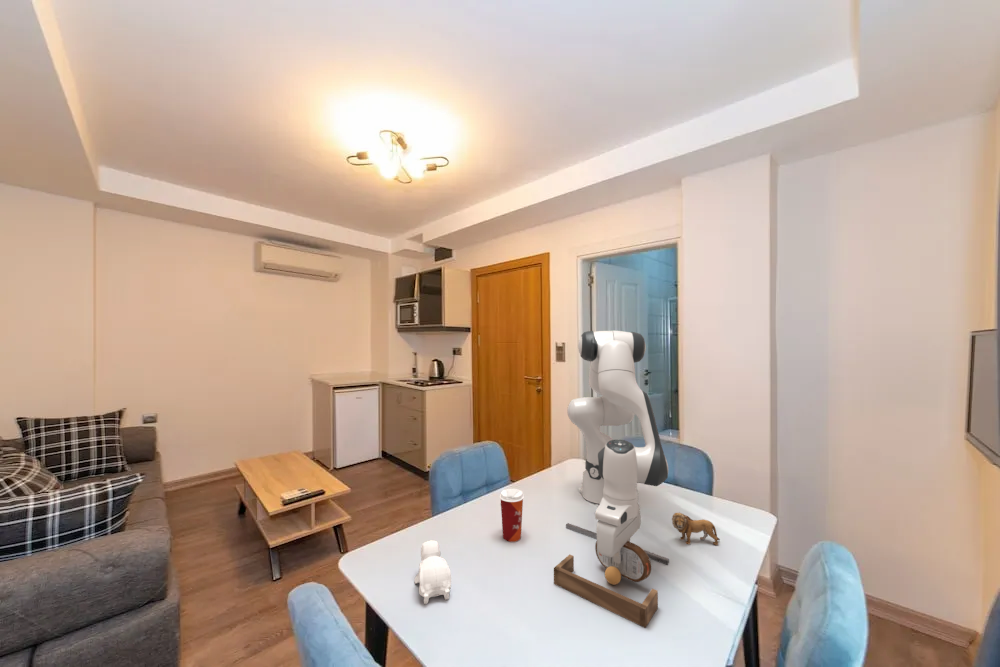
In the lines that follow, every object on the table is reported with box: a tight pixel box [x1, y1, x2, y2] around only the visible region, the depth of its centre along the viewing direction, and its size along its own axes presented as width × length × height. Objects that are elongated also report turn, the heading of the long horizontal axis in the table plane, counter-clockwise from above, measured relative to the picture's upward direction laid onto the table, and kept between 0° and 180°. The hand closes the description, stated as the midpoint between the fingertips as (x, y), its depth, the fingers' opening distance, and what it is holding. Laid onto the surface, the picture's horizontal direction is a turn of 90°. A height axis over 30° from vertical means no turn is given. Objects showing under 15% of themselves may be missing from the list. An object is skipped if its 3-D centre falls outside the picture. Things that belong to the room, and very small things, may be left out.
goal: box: [553, 554, 659, 629], centre depth 94 cm, size 8×23×4 cm, turn 50°
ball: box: [604, 566, 622, 586], centre depth 98 cm, size 4×4×4 cm
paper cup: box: [499, 488, 525, 543], centre depth 121 cm, size 8×8×14 cm
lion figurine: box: [671, 512, 721, 546], centre depth 118 cm, size 15×5×9 cm, turn 93°
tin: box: [594, 540, 652, 583], centre depth 100 cm, size 15×3×8 cm, turn 42°
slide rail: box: [565, 522, 670, 566], centre depth 117 cm, size 1×32×1 cm, turn 50°
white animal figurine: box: [414, 539, 452, 605], centre depth 98 cm, size 9×8×15 cm
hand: (620, 558), depth 101 cm, fingers closed on tin, 3 cm apart
